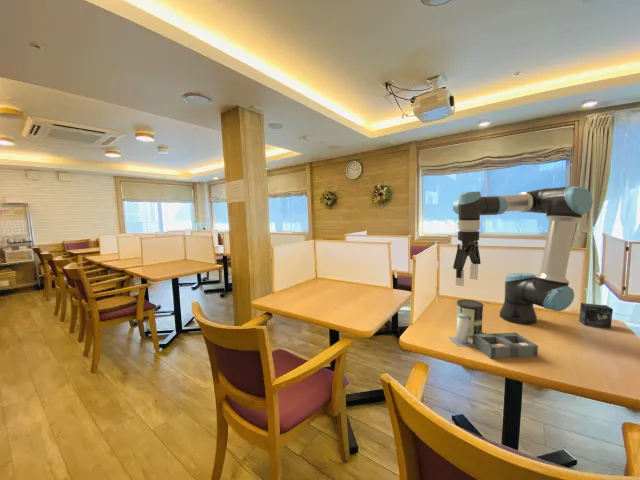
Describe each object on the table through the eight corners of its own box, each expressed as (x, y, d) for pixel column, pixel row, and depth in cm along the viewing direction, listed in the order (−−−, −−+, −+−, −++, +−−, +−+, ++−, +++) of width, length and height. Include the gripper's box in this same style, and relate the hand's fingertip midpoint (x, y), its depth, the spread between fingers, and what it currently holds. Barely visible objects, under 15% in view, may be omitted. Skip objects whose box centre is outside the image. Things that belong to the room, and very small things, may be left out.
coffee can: (476, 329, 125) (478, 299, 124) (485, 339, 115) (487, 307, 114) (453, 327, 127) (454, 298, 126) (459, 337, 117) (460, 306, 116)
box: (584, 325, 126) (586, 306, 125) (578, 321, 131) (580, 302, 130) (611, 328, 123) (613, 308, 122) (604, 324, 128) (605, 304, 127)
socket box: (514, 343, 112) (515, 331, 111) (537, 357, 101) (538, 345, 100) (472, 345, 111) (473, 333, 110) (490, 359, 100) (491, 347, 99)
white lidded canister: (464, 338, 115) (465, 312, 114) (470, 343, 111) (471, 316, 110) (454, 339, 115) (455, 313, 114) (459, 344, 111) (460, 317, 110)
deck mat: (465, 337, 117) (465, 336, 117) (477, 346, 109) (477, 345, 109) (447, 338, 117) (447, 337, 117) (457, 347, 109) (458, 346, 109)
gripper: (471, 228, 119) (469, 275, 121) (444, 232, 103) (443, 286, 106) (490, 228, 113) (488, 278, 116) (465, 233, 97) (463, 290, 100)
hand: (466, 282), depth 111 cm, fingers open, 13 cm apart
